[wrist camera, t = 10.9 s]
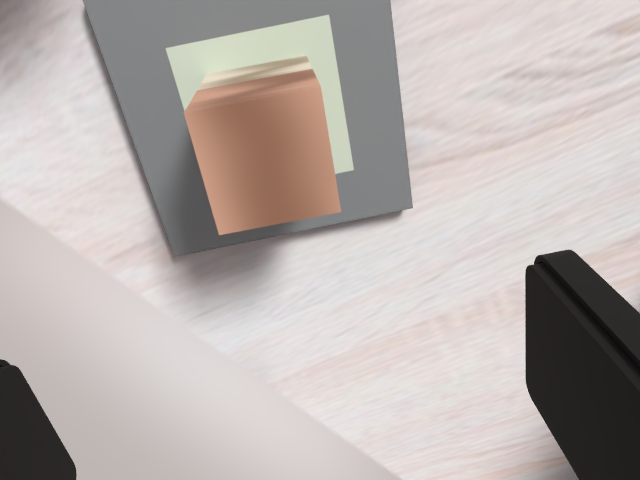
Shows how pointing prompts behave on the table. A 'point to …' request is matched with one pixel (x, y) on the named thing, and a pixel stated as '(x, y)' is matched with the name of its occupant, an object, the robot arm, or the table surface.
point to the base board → (246, 50)
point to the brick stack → (263, 145)
